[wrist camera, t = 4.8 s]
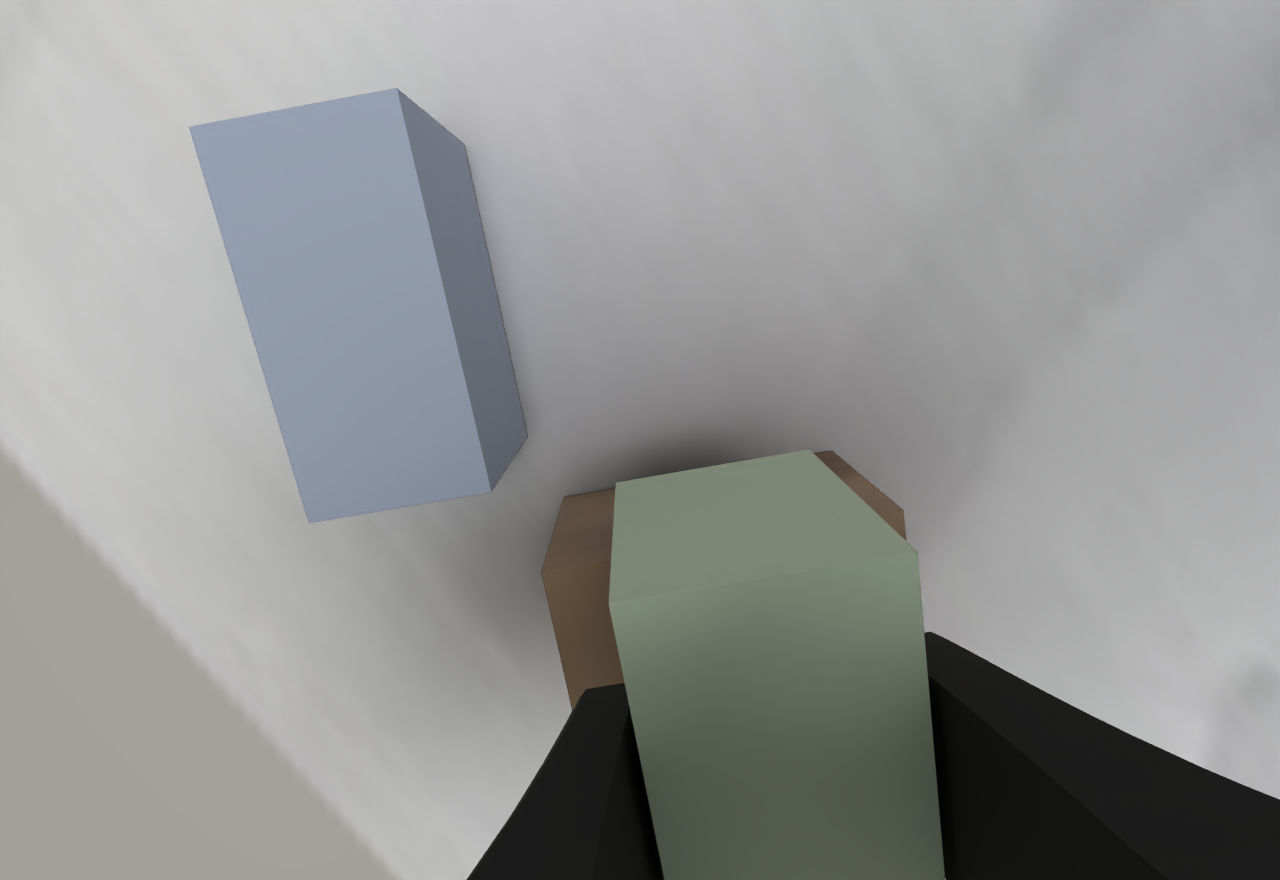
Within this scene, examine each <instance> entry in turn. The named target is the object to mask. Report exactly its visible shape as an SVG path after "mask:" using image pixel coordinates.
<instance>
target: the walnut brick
mask: <svg viewBox="0 0 1280 880" xmlns="http://www.w3.org/2000/svg"><path fill="white" fill-rule="evenodd" d="M815 455H816V456H817V457H818V458H819V459H820V460H821V461H822V462H823V463H824V464H825V465H826V466H827V467H828V468H829V469H830V470H831V471H833V472H834V473H835V474H836V475H837V476H838V477H839V478H840V479H841V480H842V481H843V482H844V483H845V484H846V485H847V486H848V487H849V488H851V489H852V490H853V491H854V492H855V493H856V494H857V495H858V496H859V497H860V498H861V499H862V500H863V501H864V502H865V503H866V504H867V505H869V506H870V507H871V508H872V509H873V510H874V511H875V512H876V513H877V514H878V515H879V516H880V517H881V518H882V519H883V520H884V521H885V522H887V523H888V524H889V525H890V526H891V527H892V528H893V529H894V530H895V531H896V532H897V533H898V534H899V535H900V536H901V537H902V538H903V539H905V540H906V532H905V521H904V511H903V509H901V508H900V507H899V506H898V505H897V504H895V503H894V502H893V501H892V500H891V499H889V498H888V497H887V496H886V495H885V494H883V493H882V492H881V491H880V490H879V489H877V488H876V487H875V486H874V485H873V484H871V483H870V482H869V481H868V480H867V479H865V478H864V477H863V476H862V475H861V474H859V473H858V472H857V471H856V470H855V469H853V468H852V467H851V466H850V465H849V464H847V463H846V462H845V461H844V460H842V459H841V458H840V457H839V456H838V455H836V454H835V453H834V452H833V451H827V452H822V453H816V454H815ZM614 503H615V488H614V489H608V490H602V491H596V492H591V493H585V494H579V495H573V496H567V497H564V498H563V501H562V505H561V508H560V511H559V515H558V518H557V521H556V525H555V528H554V531H553V535H552V538H551V541H550V544H549V548H548V551H547V554H546V558H545V561H544V564H543V568H542V571H541V573H542V578H543V582H544V587H545V591H546V596H547V600H548V604H549V609H550V613H551V618H552V622H553V627H554V631H555V636H556V640H557V645H558V649H559V653H560V658H561V662H562V667H563V671H564V676H565V680H566V685H567V689H568V694H569V698H570V702H571V707H572V711H573V709H574V707H575V705H576V703H577V701H578V700H579V698H580V696H581V695H582V694H583V693H584V691H585V690H586V689H589V688H595V687H601V686H607V685H613V684H619V683H625V682H624V677H623V672H622V667H621V662H620V657H619V653H618V648H617V643H616V638H615V633H614V628H613V623H612V618H611V613H610V608H609V588H610V571H611V554H612V537H613V520H614Z"/></svg>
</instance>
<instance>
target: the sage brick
mask: <svg viewBox="0 0 1280 880" xmlns="http://www.w3.org/2000/svg"><path fill="white" fill-rule="evenodd" d="M609 608H610V613H611V618H612V623H613V628H614V633H615V638H616V643H617V648H618V653H619V657H620V662H621V667H622V672H623V677H624V682H625V687H626V692H627V697H628V702H629V707H630V712H631V717H632V722H633V727H634V732H635V736H636V741H637V746H638V751H639V756H640V761H641V766H642V771H643V776H644V781H645V786H646V791H647V796H648V801H649V806H650V811H651V815H652V820H653V825H654V830H655V835H656V840H657V845H658V850H659V855H660V860H661V865H662V870H663V875H664V880H945V873H944V861H943V849H942V837H941V826H940V814H939V802H938V790H937V778H936V766H935V755H934V743H933V731H932V719H931V707H930V695H929V684H928V672H927V660H926V648H925V636H924V625H923V613H922V601H921V589H920V577H919V565H918V554H917V551H916V550H915V549H914V548H913V547H912V546H911V545H910V544H909V543H908V542H907V541H906V540H905V539H903V538H902V537H901V536H900V535H899V534H898V533H897V532H896V531H895V530H894V529H893V528H892V527H891V526H890V525H889V524H888V523H887V522H885V521H884V520H883V519H882V518H881V517H880V516H879V515H878V514H877V513H876V512H875V511H874V510H873V509H872V508H871V507H870V506H869V505H867V504H866V503H865V502H864V501H863V500H862V499H861V498H860V497H859V496H858V495H857V494H856V493H855V492H854V491H853V490H852V489H851V488H849V487H848V486H847V485H846V484H845V483H844V482H843V481H842V480H841V479H840V478H839V477H838V476H837V475H836V474H835V473H834V472H833V471H831V470H830V469H829V468H828V467H827V466H826V465H825V464H824V463H823V462H822V461H821V460H820V459H819V458H818V457H817V456H816V455H815V454H814V453H812V452H811V451H810V450H809V449H807V450H801V451H796V452H790V453H784V454H778V455H772V456H767V457H761V458H755V459H749V460H743V461H738V462H732V463H726V464H720V465H714V466H709V467H703V468H697V469H691V470H686V471H680V472H674V473H668V474H662V475H657V476H651V477H645V478H639V479H633V480H628V481H622V482H616V486H615V503H614V520H613V537H612V554H611V571H610V588H609Z"/></svg>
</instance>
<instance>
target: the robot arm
mask: <svg viewBox="0 0 1280 880" xmlns="http://www.w3.org/2000/svg"><path fill="white" fill-rule="evenodd" d="M924 636H925V648H926V660H927V672H928V684H929V695H930V707H931V719H932V731H933V743H934V755H935V766H936V778H937V790H938V802H939V814H940V826H941V837H942V849H943V861H944V873H945V879H946V880H1280V800H1279V799H1277V798H1274V797H1272V796H1269V795H1267V794H1264V793H1262V792H1259V791H1257V790H1254V789H1252V788H1249V787H1247V786H1244V785H1242V784H1239V783H1237V782H1235V781H1232V780H1230V779H1228V778H1225V777H1223V776H1221V775H1218V774H1216V773H1214V772H1211V771H1209V770H1207V769H1204V768H1202V767H1200V766H1197V765H1195V764H1193V763H1191V762H1189V761H1187V760H1184V759H1182V758H1180V757H1178V756H1176V755H1174V754H1171V753H1169V752H1167V751H1165V750H1163V749H1161V748H1158V747H1156V746H1154V745H1152V744H1150V743H1147V742H1145V741H1143V740H1141V739H1139V738H1137V737H1134V736H1132V735H1130V734H1128V733H1126V732H1124V731H1122V730H1120V729H1118V728H1116V727H1114V726H1112V725H1110V724H1108V723H1106V722H1104V721H1101V720H1099V719H1097V718H1095V717H1093V716H1091V715H1089V714H1087V713H1085V712H1083V711H1081V710H1079V709H1077V708H1075V707H1074V706H1072V705H1070V704H1068V703H1066V702H1064V701H1062V700H1060V699H1058V698H1056V697H1054V696H1052V695H1050V694H1048V693H1046V692H1045V691H1043V690H1041V689H1039V688H1037V687H1035V686H1033V685H1031V684H1029V683H1028V682H1026V681H1024V680H1022V679H1020V678H1018V677H1016V676H1014V675H1013V674H1011V673H1009V672H1007V671H1005V670H1003V669H1001V668H1000V667H998V666H996V665H994V664H992V663H990V662H988V661H987V660H985V659H983V658H981V657H979V656H977V655H975V654H974V653H972V652H970V651H968V650H966V649H964V648H962V647H961V646H959V645H957V644H955V643H953V642H951V641H949V640H947V639H945V638H943V637H941V636H939V635H937V634H935V633H932V632H926V633H924ZM467 880H664V875H663V870H662V865H661V860H660V855H659V850H658V845H657V840H656V835H655V830H654V825H653V820H652V815H651V811H650V806H649V801H648V796H647V791H646V786H645V781H644V776H643V771H642V766H641V761H640V756H639V751H638V746H637V741H636V736H635V732H634V727H633V722H632V717H631V712H630V707H629V702H628V697H627V692H626V687H625V683H619V684H613V685H607V686H601V687H595V688H589V689H586V690H585V691H584V693H583V694H582V695H581V696H580V698H579V700H578V701H577V703H576V705H575V707H574V709H573V711H572V713H571V714H570V716H569V718H568V720H567V722H566V724H565V726H564V727H563V729H562V731H561V733H560V735H559V736H558V738H557V740H556V742H555V744H554V745H553V747H552V749H551V750H550V752H549V754H548V756H547V757H546V759H545V761H544V763H543V764H542V766H541V768H540V769H539V771H538V772H537V774H536V776H535V777H534V779H533V781H532V782H531V784H530V786H529V787H528V789H527V790H526V792H525V794H524V795H523V797H522V799H521V800H520V802H519V803H518V805H517V807H516V808H515V810H514V811H513V813H512V814H511V816H510V817H509V819H508V821H507V822H506V823H505V825H504V826H503V828H502V829H501V831H500V832H499V834H498V835H497V836H496V838H495V839H494V841H493V842H492V844H491V845H490V847H489V848H488V850H487V851H486V852H485V854H484V855H483V857H482V858H481V860H480V861H479V863H478V864H477V865H476V867H475V868H474V870H473V871H472V873H471V874H470V876H469V877H468V878H467Z"/></svg>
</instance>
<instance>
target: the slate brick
mask: <svg viewBox="0 0 1280 880" xmlns="http://www.w3.org/2000/svg"><path fill="white" fill-rule="evenodd" d="M189 129H190V133H191V136H192V139H193V143H194V146H195V149H196V152H197V156H198V159H199V162H200V166H201V169H202V172H203V176H204V179H205V182H206V185H207V189H208V192H209V195H210V199H211V202H212V205H213V209H214V212H215V215H216V219H217V222H218V225H219V228H220V232H221V235H222V238H223V242H224V245H225V248H226V252H227V255H228V258H229V262H230V265H231V268H232V271H233V275H234V278H235V281H236V285H237V288H238V291H239V295H240V298H241V301H242V304H243V308H244V311H245V314H246V318H247V321H248V324H249V328H250V331H251V334H252V338H253V341H254V344H255V347H256V351H257V354H258V357H259V361H260V364H261V367H262V371H263V374H264V377H265V380H266V384H267V387H268V390H269V394H270V397H271V400H272V404H273V407H274V410H275V414H276V417H277V420H278V423H279V427H280V430H281V433H282V437H283V440H284V443H285V447H286V450H287V453H288V456H289V460H290V463H291V466H292V470H293V473H294V476H295V480H296V483H297V486H298V490H299V493H300V496H301V499H302V503H303V506H304V509H305V513H306V516H307V519H308V523H314V522H320V521H325V520H331V519H337V518H343V517H349V516H355V515H360V514H366V513H372V512H378V511H384V510H390V509H395V508H401V507H407V506H413V505H419V504H425V503H431V502H436V501H442V500H448V499H454V498H460V497H466V496H471V495H477V494H483V493H489V492H492V490H493V489H494V487H495V486H496V484H497V483H498V481H499V480H500V478H501V476H502V475H503V473H504V472H505V470H506V469H507V467H508V466H509V464H510V463H511V461H512V460H513V458H514V456H515V455H516V453H517V452H518V450H519V449H520V447H521V446H522V444H523V443H524V441H525V439H526V438H527V431H526V426H525V422H524V417H523V413H522V408H521V403H520V399H519V394H518V389H517V385H516V380H515V376H514V371H513V366H512V362H511V357H510V353H509V348H508V343H507V339H506V334H505V330H504V325H503V320H502V316H501V311H500V306H499V302H498V297H497V293H496V288H495V283H494V279H493V274H492V270H491V265H490V260H489V256H488V251H487V247H486V242H485V237H484V233H483V228H482V224H481V219H480V214H479V210H478V205H477V200H476V196H475V191H474V187H473V182H472V177H471V173H470V168H469V164H468V159H467V154H466V150H465V145H464V143H463V142H461V141H460V140H459V139H458V138H457V137H455V136H454V135H453V134H452V133H450V132H449V131H448V130H447V129H446V128H444V127H443V126H442V125H441V124H440V123H438V122H437V121H436V120H435V119H434V118H432V117H431V116H430V115H429V114H427V113H426V112H425V111H424V110H423V109H421V108H420V107H419V106H418V105H417V104H415V103H414V102H413V101H412V100H411V99H409V98H408V97H407V96H406V95H404V94H403V93H402V92H401V91H400V90H398V89H397V88H395V89H390V90H384V91H379V92H373V93H368V94H363V95H357V96H352V97H347V98H341V99H336V100H330V101H325V102H320V103H314V104H309V105H304V106H298V107H293V108H287V109H282V110H277V111H271V112H266V113H261V114H255V115H250V116H245V117H239V118H234V119H228V120H223V121H218V122H212V123H207V124H202V125H196V126H191V127H189Z"/></svg>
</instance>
